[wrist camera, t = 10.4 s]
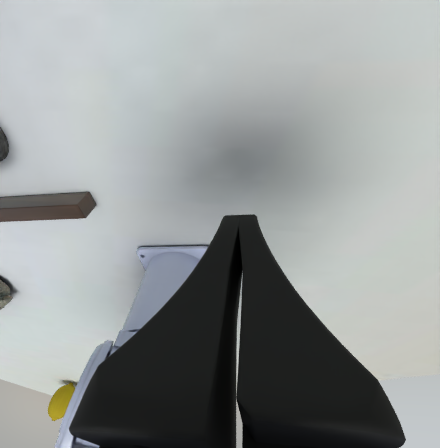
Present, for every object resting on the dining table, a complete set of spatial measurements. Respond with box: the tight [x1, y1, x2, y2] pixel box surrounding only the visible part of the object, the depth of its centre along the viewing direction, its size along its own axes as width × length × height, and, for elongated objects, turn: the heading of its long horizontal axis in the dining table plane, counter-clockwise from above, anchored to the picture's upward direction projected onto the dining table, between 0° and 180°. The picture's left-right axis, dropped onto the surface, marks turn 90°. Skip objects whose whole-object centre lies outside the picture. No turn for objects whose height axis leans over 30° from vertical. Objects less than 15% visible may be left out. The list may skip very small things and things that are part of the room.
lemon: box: [48, 383, 75, 421], centre depth 60 cm, size 6×6×8 cm
